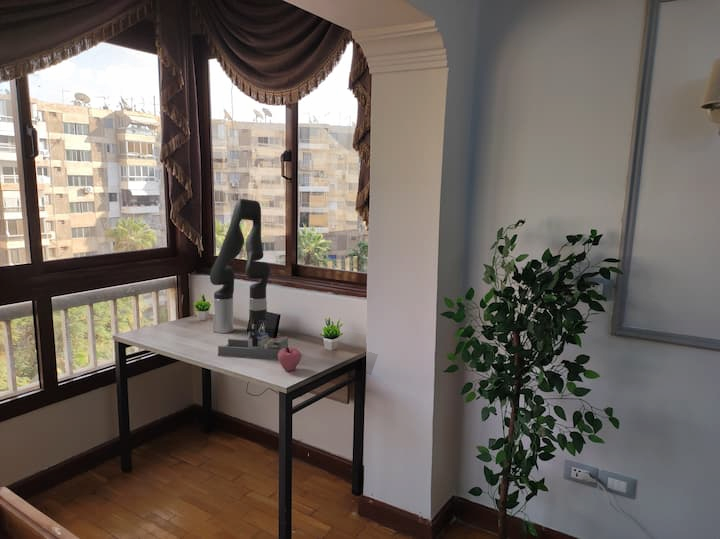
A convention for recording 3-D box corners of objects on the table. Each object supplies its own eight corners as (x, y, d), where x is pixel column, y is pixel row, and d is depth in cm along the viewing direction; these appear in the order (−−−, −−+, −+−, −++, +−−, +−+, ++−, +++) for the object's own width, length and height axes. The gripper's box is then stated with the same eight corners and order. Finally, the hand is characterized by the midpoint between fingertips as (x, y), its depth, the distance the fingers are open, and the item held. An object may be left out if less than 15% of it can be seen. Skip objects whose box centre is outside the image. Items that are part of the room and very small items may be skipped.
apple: (303, 372, 212) (303, 348, 211) (282, 375, 208) (282, 350, 207) (294, 365, 221) (295, 341, 219) (274, 367, 217) (274, 344, 215)
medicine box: (247, 351, 234) (247, 332, 233) (253, 348, 238) (253, 329, 237) (262, 353, 231) (262, 334, 230) (268, 351, 235) (268, 332, 234)
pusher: (264, 354, 229) (264, 344, 229) (270, 348, 238) (270, 338, 238) (275, 355, 229) (275, 345, 228) (281, 349, 238) (281, 339, 237)
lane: (218, 355, 230) (217, 340, 229) (229, 347, 243) (229, 332, 242) (280, 359, 227) (280, 344, 225) (288, 350, 239) (288, 335, 238)
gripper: (255, 303, 239) (255, 338, 241) (244, 310, 225) (244, 347, 227) (271, 304, 238) (271, 339, 240) (261, 311, 224) (261, 348, 226)
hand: (258, 343), depth 234 cm, fingers open, 8 cm apart
